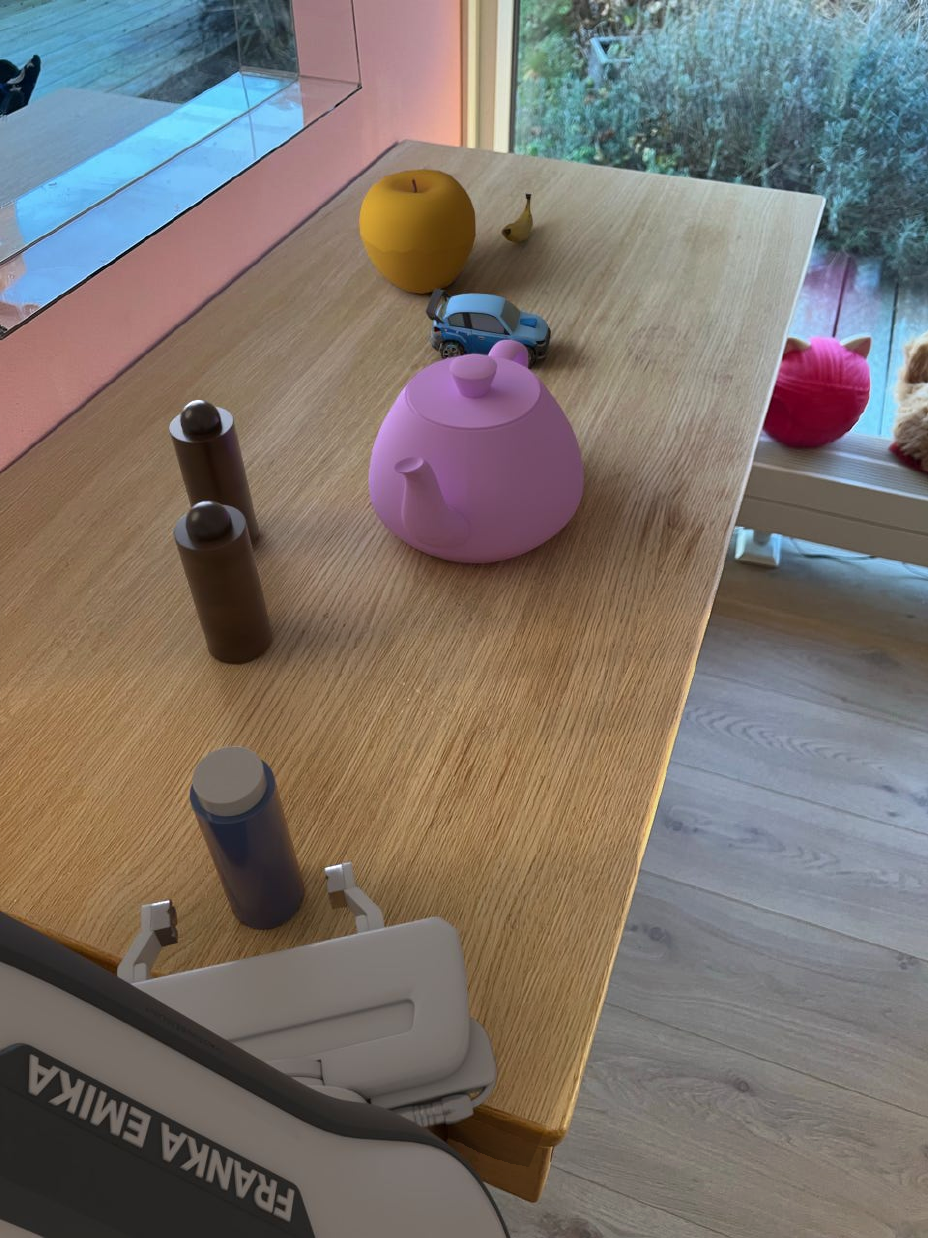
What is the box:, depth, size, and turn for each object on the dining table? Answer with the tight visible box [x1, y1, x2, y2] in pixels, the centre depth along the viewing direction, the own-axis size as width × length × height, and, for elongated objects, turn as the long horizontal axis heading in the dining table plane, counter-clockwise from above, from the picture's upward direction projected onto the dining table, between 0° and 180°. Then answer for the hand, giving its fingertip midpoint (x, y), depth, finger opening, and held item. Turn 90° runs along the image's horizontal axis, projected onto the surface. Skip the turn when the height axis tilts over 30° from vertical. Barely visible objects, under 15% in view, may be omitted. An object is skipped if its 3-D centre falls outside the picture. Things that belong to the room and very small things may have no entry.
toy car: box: [425, 288, 552, 367], centre depth 100 cm, size 6×12×6 cm, turn 80°
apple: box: [358, 169, 477, 295], centre depth 110 cm, size 13×13×11 cm
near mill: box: [173, 501, 274, 665], centre depth 70 cm, size 5×5×13 cm
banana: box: [501, 192, 534, 244], centre depth 118 cm, size 10×2×4 cm, turn 163°
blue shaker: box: [189, 745, 306, 930], centre depth 55 cm, size 4×4×12 cm
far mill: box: [168, 399, 260, 545], centre depth 79 cm, size 5×5×13 cm
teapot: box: [368, 340, 585, 564], centre depth 79 cm, size 25×18×14 cm
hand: (250, 887), depth 53 cm, fingers open, 8 cm apart
